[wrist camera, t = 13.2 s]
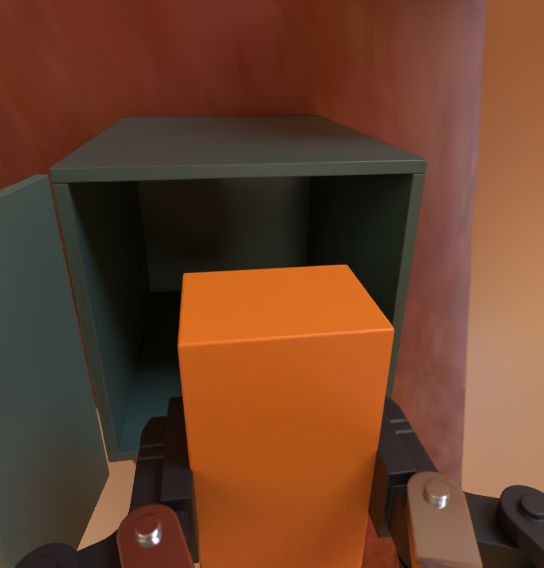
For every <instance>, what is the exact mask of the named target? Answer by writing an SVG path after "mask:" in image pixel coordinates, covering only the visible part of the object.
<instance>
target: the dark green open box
mask: <svg viewBox="0 0 544 568" xmlns="http://www.w3.org/2000/svg"><path fill="white" fill-rule="evenodd" d="M426 167H427V160H426V159H424V158H422V157H419V156H417V155H414V154H412V153H409V152H407V151H404V150H402V149H400V148H397V147H395V146H392V145H390V144H387V143H385V142H382V141H380V140H377V139H375V138H373V137H370V136H368V135H365V134H363V133H360V132H358V131H355V130H353V129H351V128H348V127H346V126H343V125H341V124H338V123H336V122H333V121H331V120H328V119H326V118H324V117H321V116H318V115H309V116H189V117H123V118H121V119H120V120H118V121H117V122H116V123H114V124H113V125H111V126H110V127H108V128H107V129H105V130H104V131H103V132H101V133H100V134H98V135H97V136H95V137H94V138H92V139H91V140H90V141H88V142H87V143H85V144H84V145H82V146H81V147H79V148H78V149H77V150H75V151H74V152H72V153H71V154H69V155H68V156H66V157H65V158H64V159H62V160H61V161H59V162H58V163H56V164H55V165H53V166H52V167H51V168H49V172H50V177H51V182H52V183H53V184H52V186H53V191H54V196H55V201H56V206H57V210H58V215H59V220H60V225H61V230H62V235H63V240H64V245H65V250H66V255H67V259H68V264H69V269H70V274H71V279H72V284H73V289H74V294H75V299H76V304H77V308H78V313H79V318H80V323H81V328H82V333H83V338H84V343H85V348H86V353H87V357H88V362H89V367H90V372H91V377H92V382H93V387H94V392H95V397H96V402H97V407H98V411H99V416H100V421H101V426H102V431H103V436H104V440H105V445H106V451H107V455H108V460H109V462H117V461H126V460H136V459H137V458H138V452H139V445H140V439H141V432H142V430H143V428H144V427H145V425H146V424H147V423H148V421H149V420H150V418H151V417H160V416H167V412H168V401H169V398H170V397H181V396H183V395H182V385H181V376H180V366H179V356H178V333H179V320H180V307H181V294H182V281H183V274H185V273H199V272H218V271H236V270H255V269H273V268H292V267H310V266H328V265H348V267H349V268H350V270H351V271H352V272H353V274H354V275H355V276H356V278H357V279H358V280H359V282H360V283H361V284H362V286H363V287H364V288H365V290H366V291H367V292H368V294H369V295H370V297H371V298H372V299H373V301H374V302H375V303H376V305H377V306H378V307H379V309H380V310H381V311H382V313H383V314H384V315H385V317H386V318H387V319H388V321H389V322H390V324H391V325H392V326H393V328H394V337H393V344H392V351H391V358H390V365H389V373H388V380H387V387H386V394H385V395H386V396H388V397H389V398H390V399H391V398H392V392H393V385H394V378H395V372H396V365H397V358H398V352H399V345H400V339H401V332H402V325H403V319H404V312H405V305H406V299H407V292H408V285H409V279H410V272H411V266H412V259H413V252H414V246H415V239H416V232H417V226H418V219H419V212H420V206H421V199H422V193H423V186H424V179H425V174H424V173H426Z"/></svg>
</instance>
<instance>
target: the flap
mask: <svg viewBox="0 0 544 568" xmlns="http://www.w3.org/2000/svg"><path fill="white" fill-rule="evenodd" d="M108 477H109V470H108V465H107V460H106V456H105V451H104V446H103V441H102V436H101V431H100V427H99V422H98V417H97V412H96V407H95V402H94V397H93V392H92V388H91V383H90V378H89V373H88V368H87V363H86V359H85V354H84V349H83V344H82V339H81V334H80V330H79V325H78V320H77V315H76V310H75V305H74V300H73V296H72V291H71V286H70V281H69V276H68V271H67V267H66V262H65V257H64V252H63V247H62V242H61V237H60V233H59V228H58V223H57V218H56V213H55V208H54V204H53V199H52V194H51V189H50V184H49V179H48V175H34V176H32V177H29V178H27V179H25V180H22V181H20V182H18V183H15V184H13V185H11V186H8V187H6V188H4V189H2V190H0V568H14V567H15V566H16V564H17V563H18V562H19V561H20V560H21V559H22V558H23V557H24V556H26V555H27V554H28V553H30V552H31V551H33V550H34V549H36V548H38V547H41V546H43V545H46V544H50V543H64V544H67V545H69V546H71V547H72V548H74V549H75V551H77V548H78V546H79V544H80V541H81V539H82V536H83V535H84V532H85V530H86V528H87V525H88V523H89V520H90V518H91V516H92V514H93V511H94V509H95V507H96V504H97V502H98V500H99V497H100V495H101V493H102V490H103V488H104V486H105V483H106V481H107V479H108Z"/></svg>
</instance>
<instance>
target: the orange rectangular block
mask: <svg viewBox="0 0 544 568" xmlns="http://www.w3.org/2000/svg"><path fill="white" fill-rule="evenodd" d="M393 337H394V328H393V326H392V325H391V324H390V322H389V321H388V319H387V318H386V317H385V315H384V314H383V313H382V311H381V310H380V309H379V307H378V306H377V305H376V303H375V302H374V301H373V299H372V298H371V297H370V295H369V294H368V292H367V291H366V290H365V288H364V287H363V286H362V284H361V283H360V282H359V280H358V279H357V278H356V276H355V275H354V274H353V272H352V271H351V270H350V268H349V267H348V265H328V266H310V267H292V268H273V269H255V270H236V271H218V272H199V273H185V274H183V281H182V294H181V307H180V320H179V333H178V356H179V366H180V376H181V385H182V395H183V405H184V415H185V425H186V434H187V444H188V454H189V464H190V469H191V470H193V480H194V490H195V501H196V511H197V521H198V531H199V562H200V568H361V563H362V556H363V549H364V542H365V535H366V528H367V521H368V514H369V512H368V511H369V504H370V497H371V489H372V482H373V475H374V468H375V461H376V454H377V449H378V443H379V436H380V429H381V422H382V415H383V408H384V401H385V394H386V387H387V380H388V373H389V365H390V358H391V351H392V344H393Z"/></svg>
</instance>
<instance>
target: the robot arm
mask: <svg viewBox="0 0 544 568" xmlns="http://www.w3.org/2000/svg"><path fill="white" fill-rule="evenodd" d="M137 459H138V461H137V465H136V471H135V478H134V484H133V491H132V498H131V504H130V509H129V513H128V515H127V516H126V517H125V518H124V520H123V521H122V522H121V524H120V526H119V528H118V529H117V530H116V531H115V532H114V533H113V534H112V535H110V536H109V537H107V538H106V539H104V540H102V541H100V542H98V543H95V544H93V545H91V546H88V547H86V548H84V549H81V550H79V551H77V552H76V551H75V549H74V548H72V547H71V546H69V545H67V544H64V543H50V544H46V545H43V546H41V547H38V548H36V549H34V550H33V551H31V552H30V553H28V554H27V555H26V556H24V557H23V558H22V559H21V560H20V561H19V562H18V563H17V564H16V566H15V567H14V568H195V566H194V563H198V562H199V531H198V521H197V511H196V501H195V490H194V480H193V470H191V469H190V464H189V454H188V444H187V434H186V425H185V415H184V405H183V396H181V397H170V398H169V401H168V412H167V416H160V417H151V418H150V420H149V421H148V423H147V424H146V425H145V427H144V428H143V430H142V432H141V439H140V445H139V452H138V458H137ZM368 512H369V515H370V518H371V520H372V523H373V525H374V528H375V531H376V533H377V536H378V538H385V537H392V540H393V542H394V545H395V547H396V548H395V553H394V567H395V568H544V493H542V492H541V491H539V490H536V489H534V488H531V487H528V486H522V485H514V486H510V487H507V488H506V489H504V491H503V492H502V494H501V496H500V498H493V497H487V496H481V495H475V494H471V493H467V492H464V491H463V490H462V489H461V488H460V486H459V485H458V484H457V483H456V482H455V481H454V480H452V479H451V478H449V477H448V476H446V475H444V474H441V473H439V472H438V471H437V469H436V468H435V466H434V464H433V462H432V461H431V459H430V457H429V456H428V454H427V452H426V451H425V449H424V447H423V445H422V444H421V442H420V440H419V439H418V437H417V435H416V434H415V432H413V429H412V427H411V425H410V423H409V422H407V418H406V417H405V415H404V413H403V412H402V410H401V408H400V406H399V405H397V404H396V403H395V402H394V401H392V400H391V399H390V398H389V397H388V396H386V395H385V401H384V408H383V415H382V422H381V429H380V436H379V443H378V449H377V454H376V461H375V468H374V475H373V482H372V489H371V497H370V504H369V511H368Z"/></svg>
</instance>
